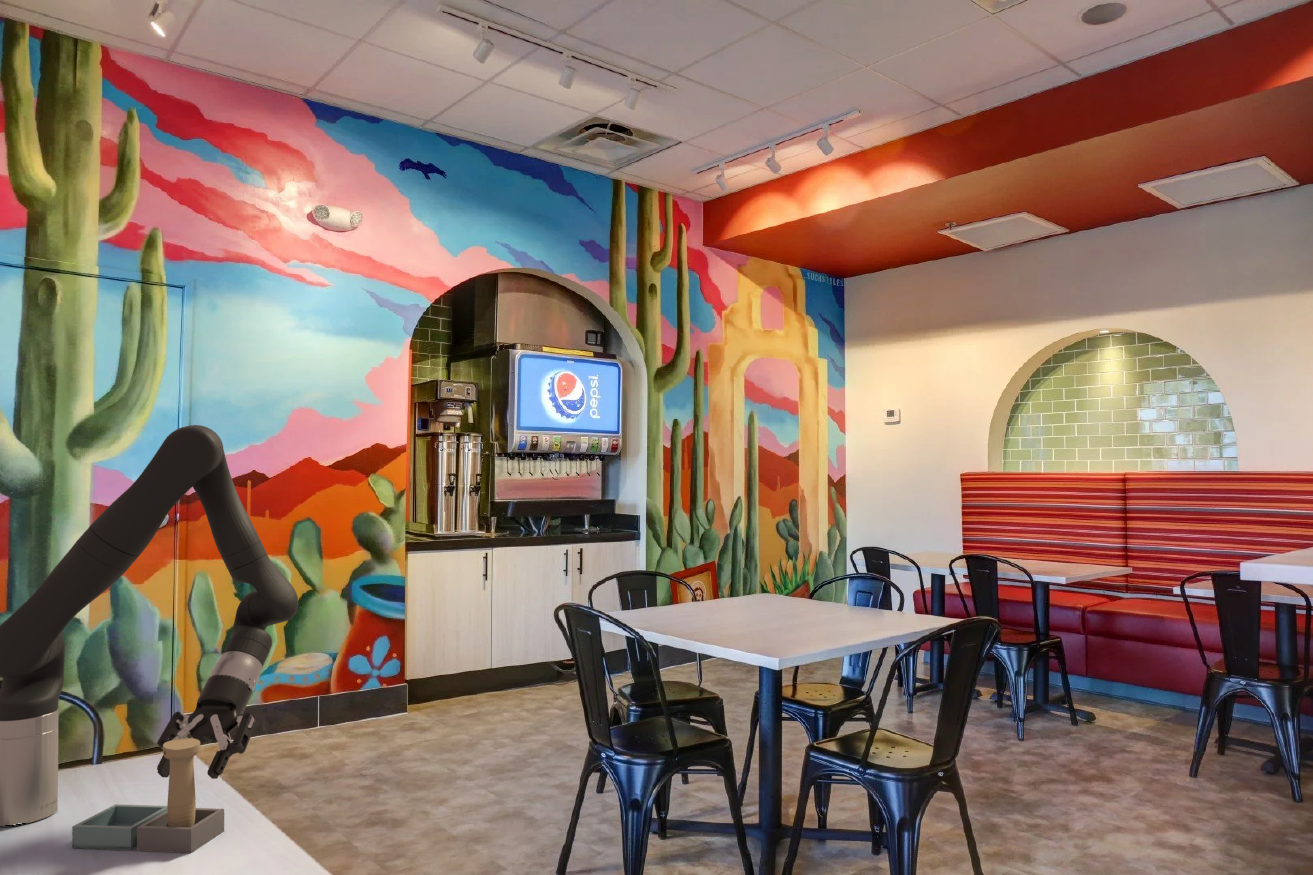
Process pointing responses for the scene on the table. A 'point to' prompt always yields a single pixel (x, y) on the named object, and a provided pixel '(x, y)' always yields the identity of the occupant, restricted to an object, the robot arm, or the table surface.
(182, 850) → the open rectangular frame
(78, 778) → the table surface
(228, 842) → the table surface
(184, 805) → the handle
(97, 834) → the parts tray
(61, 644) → the robot arm
